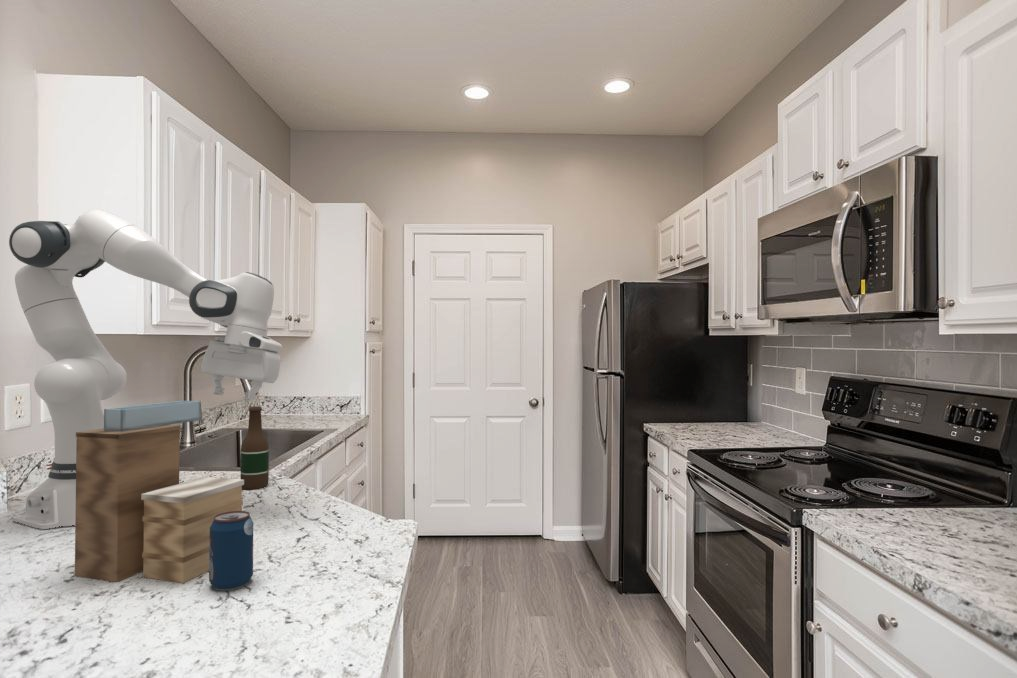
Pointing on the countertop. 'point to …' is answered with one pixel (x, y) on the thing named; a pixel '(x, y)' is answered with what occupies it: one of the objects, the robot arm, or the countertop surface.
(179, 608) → the countertop surface
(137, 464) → the walnut stand
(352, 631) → the countertop surface
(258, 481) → the beer bottle
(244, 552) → the soda can
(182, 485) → the oak crate
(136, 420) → the blue-gray container
